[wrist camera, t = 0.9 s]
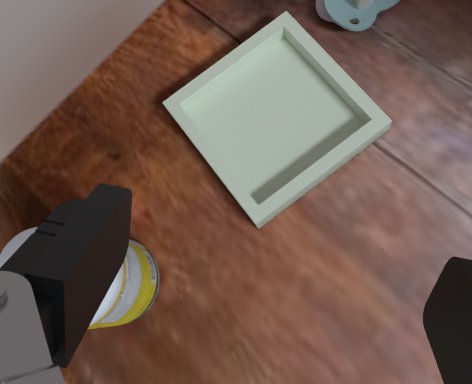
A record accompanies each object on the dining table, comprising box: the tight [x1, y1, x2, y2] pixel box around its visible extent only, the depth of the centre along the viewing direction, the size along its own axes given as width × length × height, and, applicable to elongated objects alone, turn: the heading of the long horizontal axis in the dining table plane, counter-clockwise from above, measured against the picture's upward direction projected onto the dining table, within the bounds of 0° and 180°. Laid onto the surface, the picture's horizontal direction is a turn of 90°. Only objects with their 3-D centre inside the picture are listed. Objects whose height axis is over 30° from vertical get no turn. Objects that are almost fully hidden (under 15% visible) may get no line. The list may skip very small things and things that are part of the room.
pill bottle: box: [0, 227, 159, 329], centre depth 28 cm, size 6×6×12 cm
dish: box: [162, 11, 392, 229], centre depth 34 cm, size 12×12×2 cm
